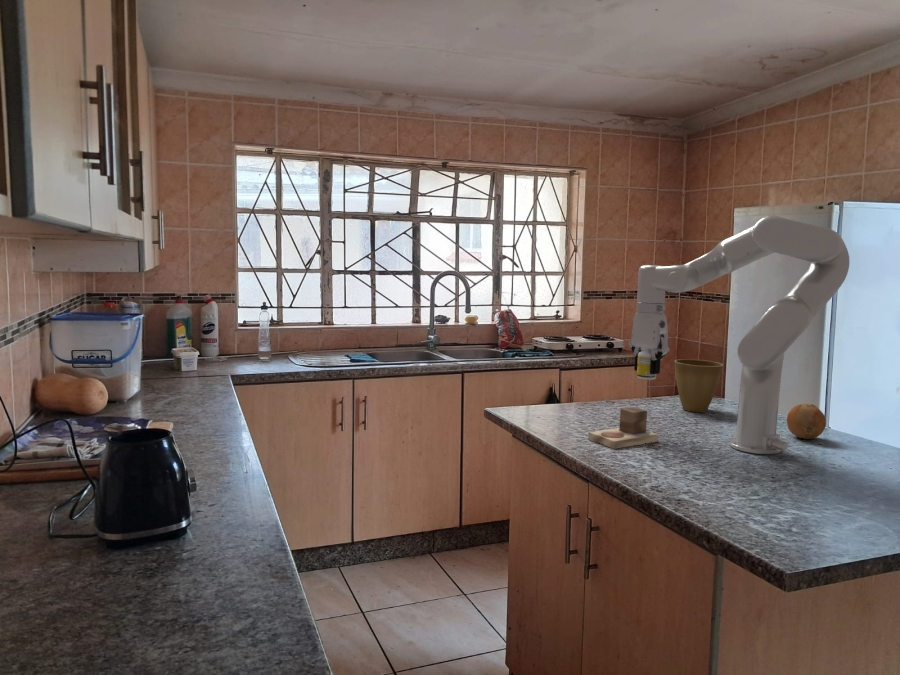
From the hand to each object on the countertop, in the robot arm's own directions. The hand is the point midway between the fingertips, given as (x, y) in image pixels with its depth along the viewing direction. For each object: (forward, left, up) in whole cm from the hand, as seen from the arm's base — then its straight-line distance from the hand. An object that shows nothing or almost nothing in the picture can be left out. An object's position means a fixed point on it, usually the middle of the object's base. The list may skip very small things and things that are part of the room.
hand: (646, 371), depth 191 cm
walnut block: (-5, +10, -15) cm, 19 cm away
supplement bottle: (0, 0, -2) cm, 2 cm away
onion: (-26, -36, -18) cm, 48 cm away
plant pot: (+12, -36, -18) cm, 42 cm away
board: (-5, +13, -17) cm, 22 cm away
